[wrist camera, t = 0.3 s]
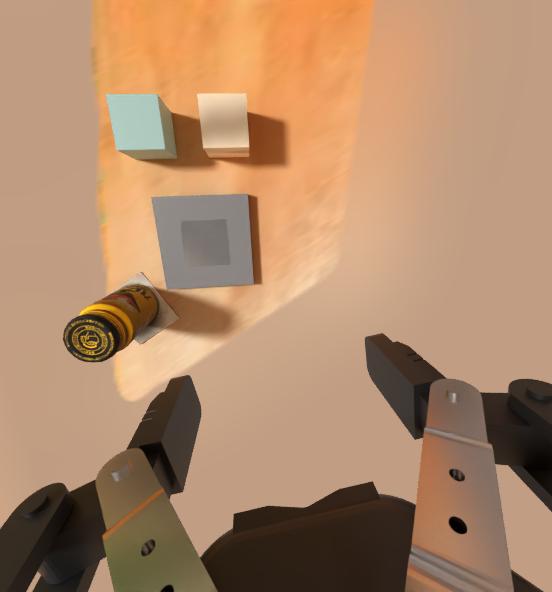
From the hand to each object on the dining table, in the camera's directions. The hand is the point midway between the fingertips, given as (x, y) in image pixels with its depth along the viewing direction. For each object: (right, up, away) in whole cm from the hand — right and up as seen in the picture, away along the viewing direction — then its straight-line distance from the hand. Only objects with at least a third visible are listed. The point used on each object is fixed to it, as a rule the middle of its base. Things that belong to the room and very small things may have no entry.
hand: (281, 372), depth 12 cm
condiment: (-20, +2, +26) cm, 33 cm away
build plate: (-10, +11, +24) cm, 28 cm away
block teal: (-15, +23, +20) cm, 34 cm away
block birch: (-6, +24, +21) cm, 32 cm away
